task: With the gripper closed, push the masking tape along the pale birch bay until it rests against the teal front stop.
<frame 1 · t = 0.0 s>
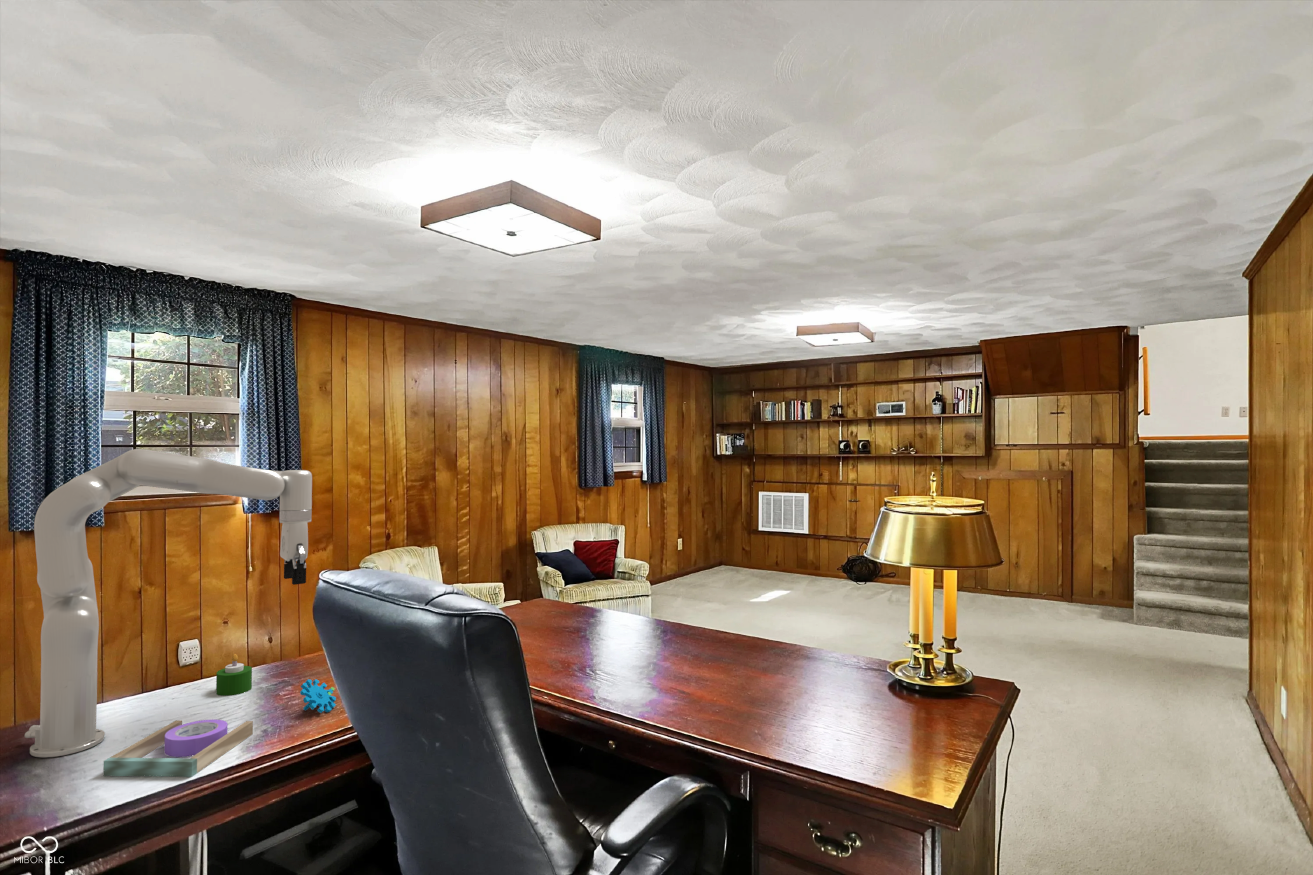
hand: (294, 580, 180), 31 cm above the table, tool pointing down, fingers open, 9 cm apart
bay: (183, 752, 148), on the table
masking tape: (196, 746, 152), on the table
gear: (319, 710, 173), on the table
candle: (234, 691, 186), on the table
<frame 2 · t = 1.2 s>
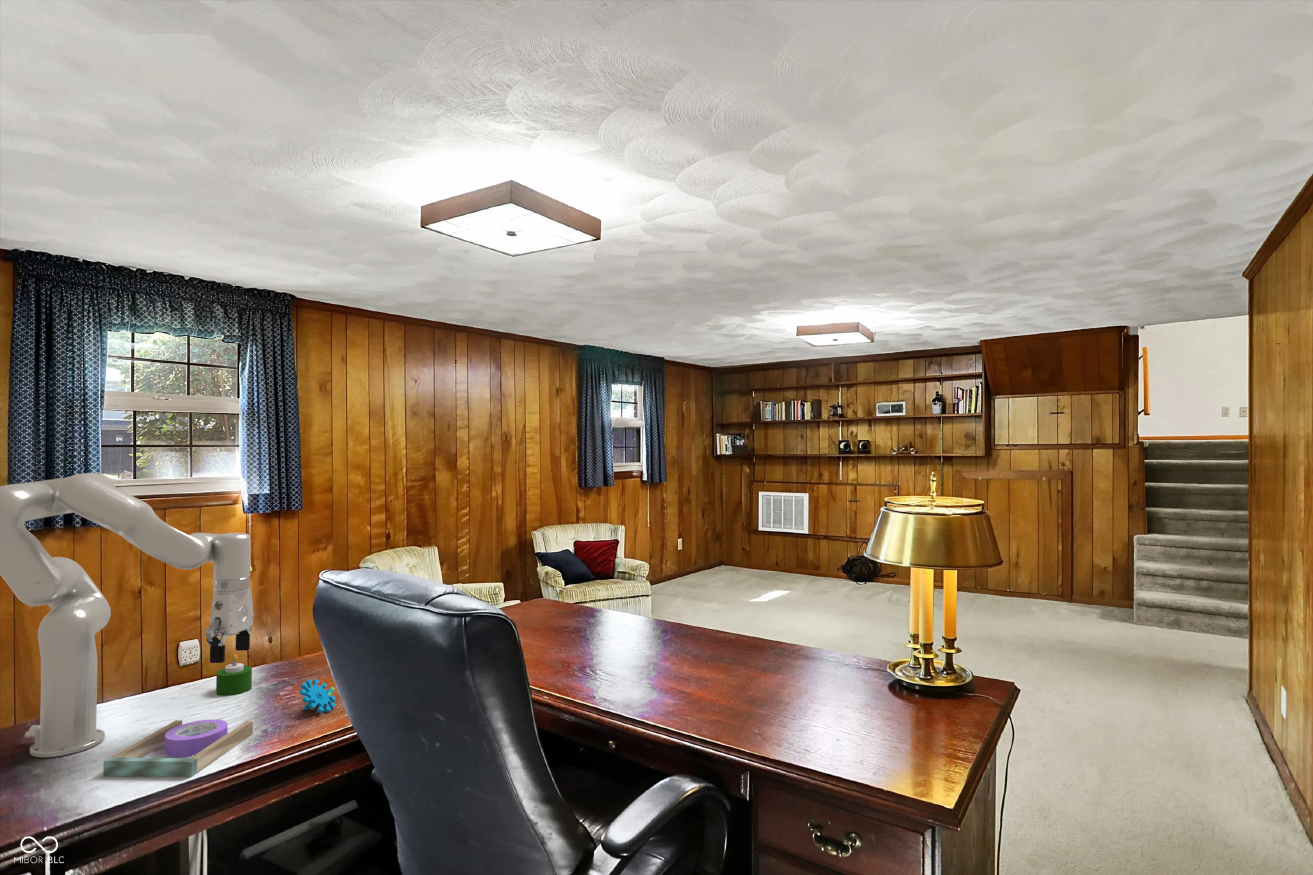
hand: (230, 655, 164), 16 cm above the table, tool pointing down, fingers open, 9 cm apart
nothing on the table moved.
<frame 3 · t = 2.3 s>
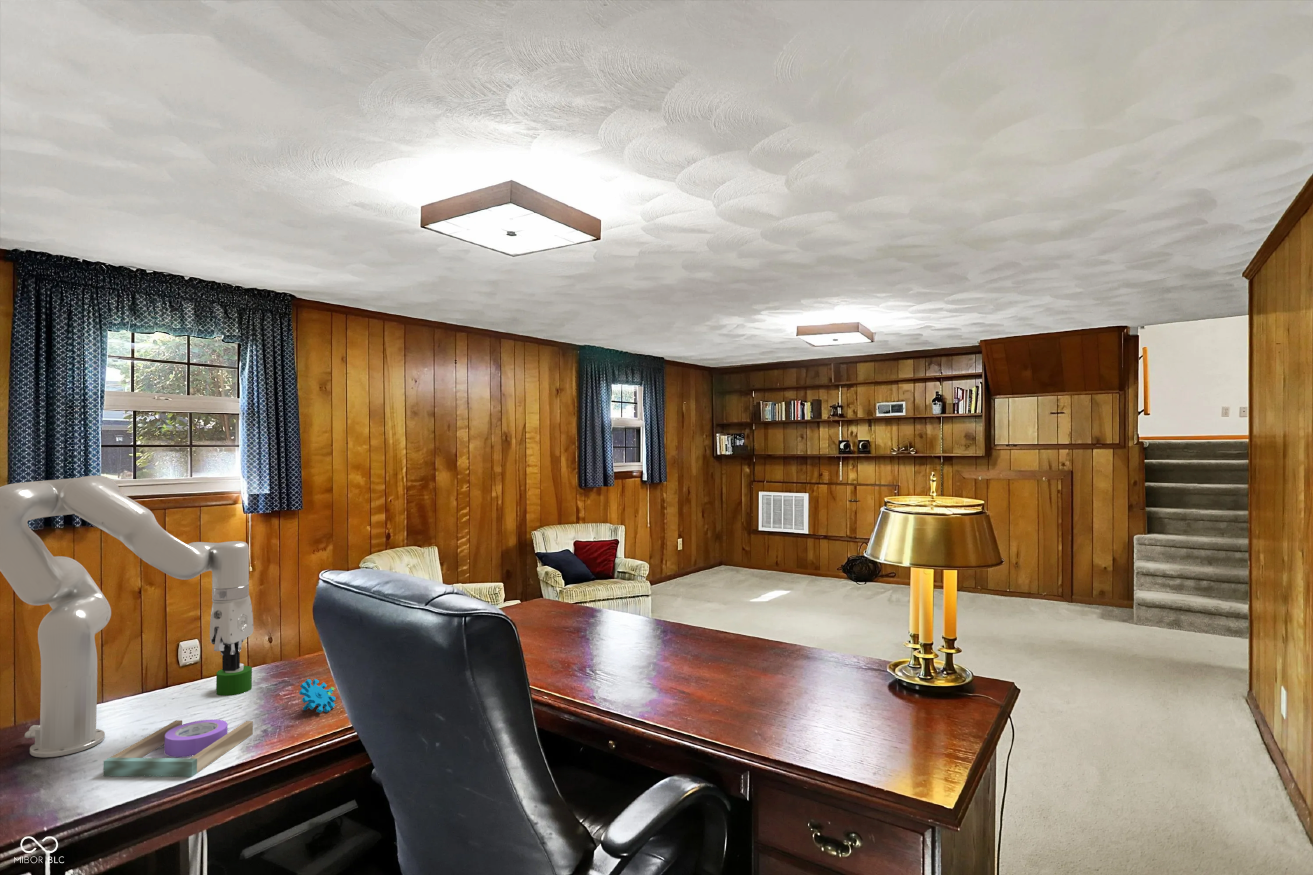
hand: (231, 669, 163), 13 cm above the table, tool pointing down, fingers closed
nothing on the table moved.
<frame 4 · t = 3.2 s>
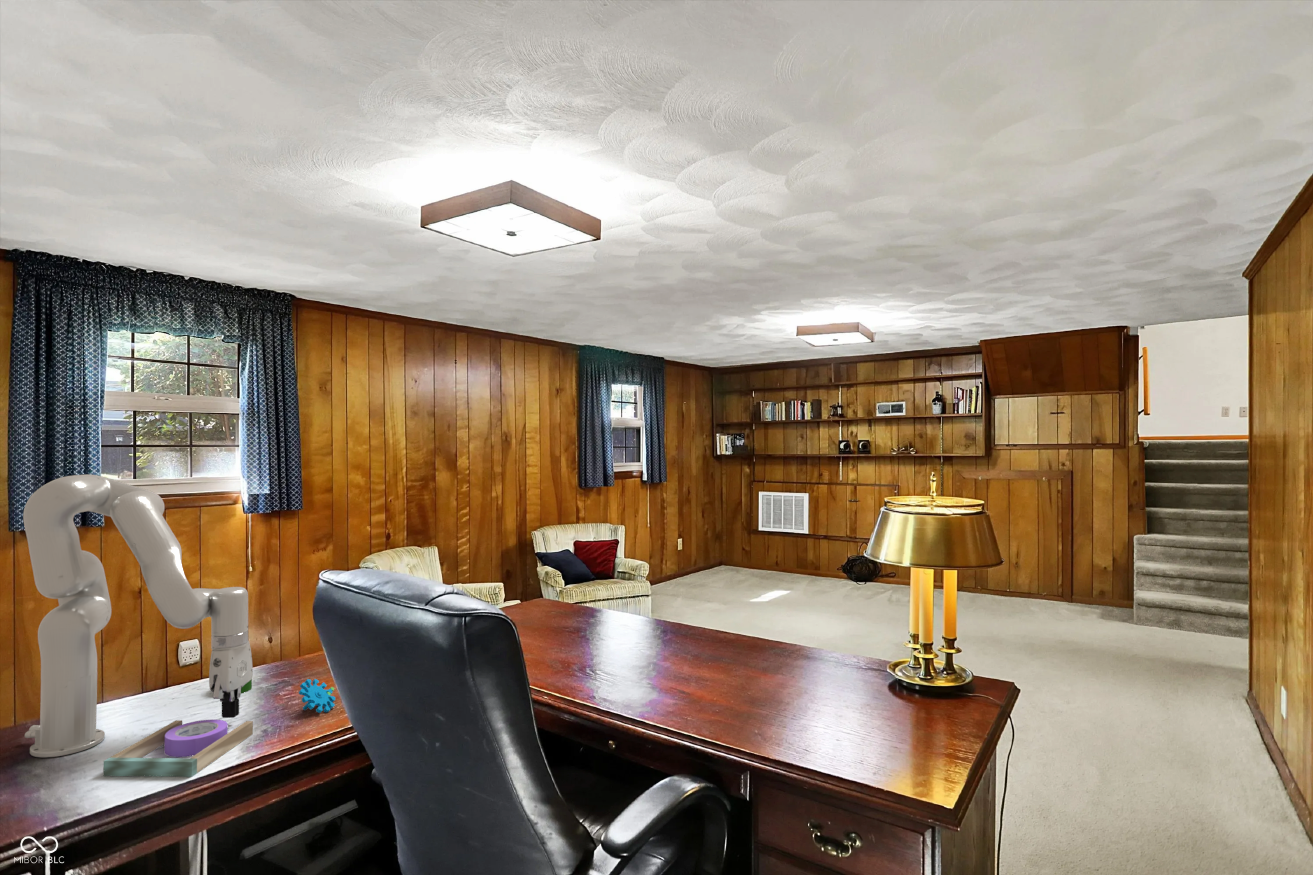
hand: (230, 716, 163), 2 cm above the table, tool pointing down, fingers closed
nothing on the table moved.
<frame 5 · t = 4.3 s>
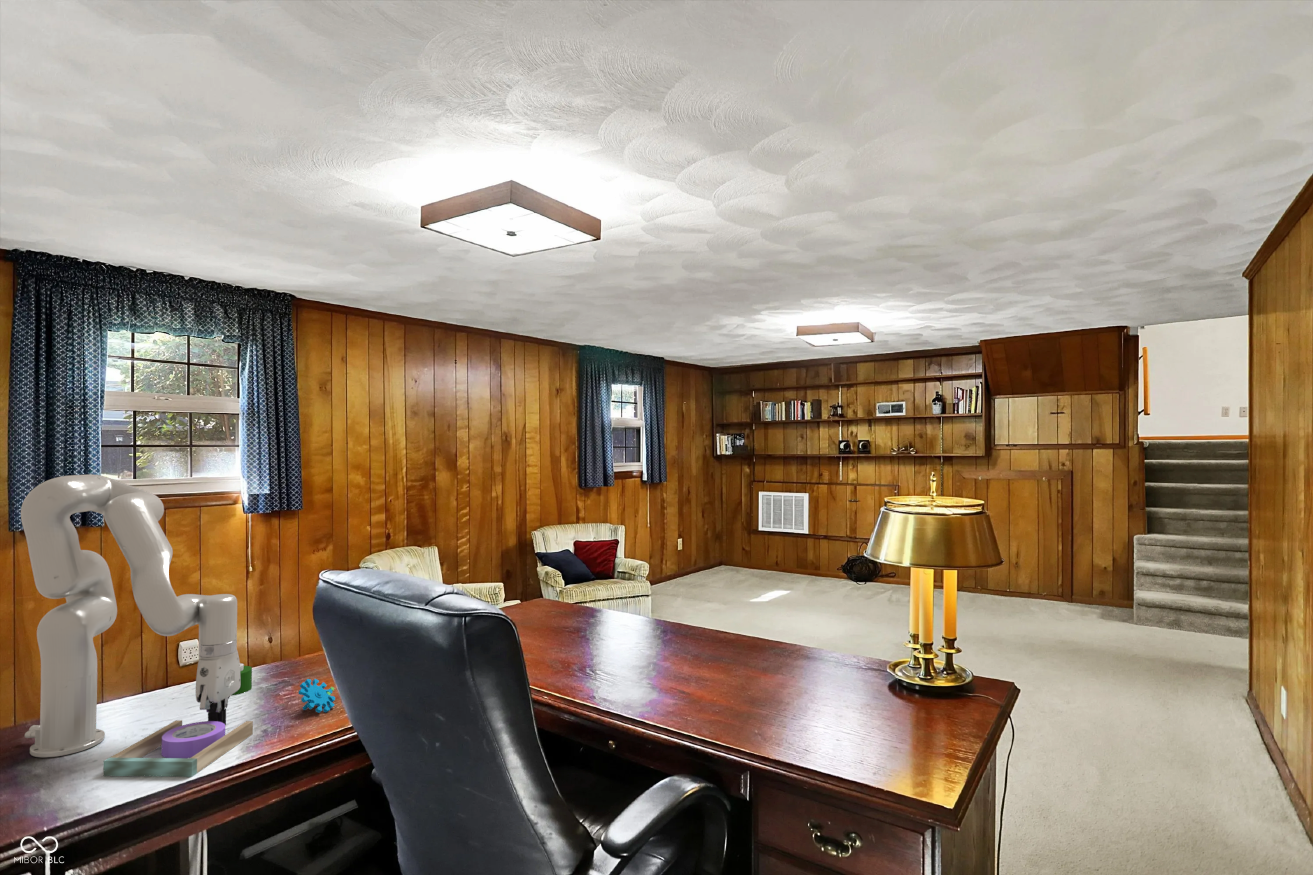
hand: (216, 727, 159), 1 cm above the table, tool pointing down, fingers closed
masking tape: (193, 748, 151), on the table, touching gripper
everything else where it was.
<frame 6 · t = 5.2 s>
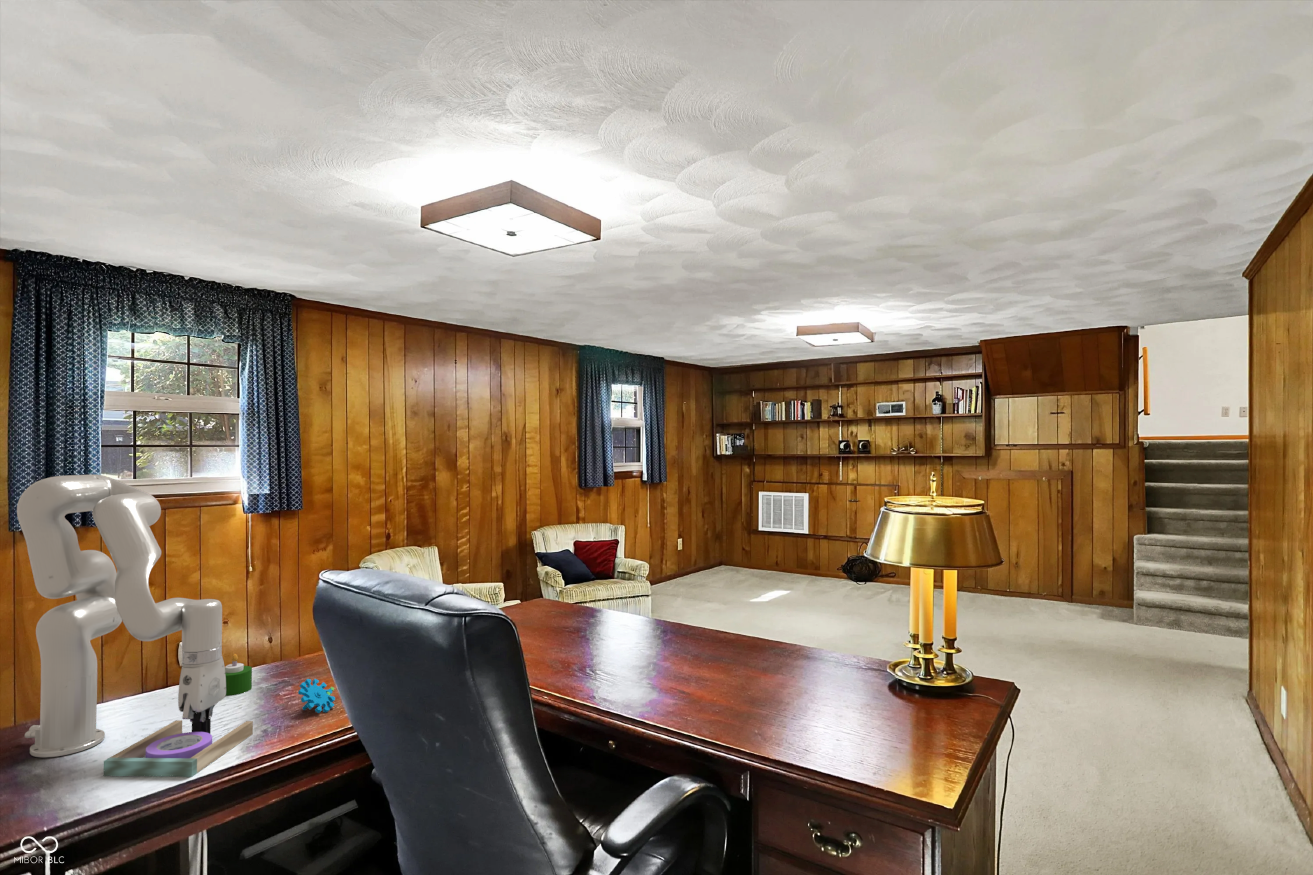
hand: (201, 737, 153), 1 cm above the table, tool pointing down, fingers closed
masking tape: (179, 761, 145), on the table, touching gripper
everything else where it was.
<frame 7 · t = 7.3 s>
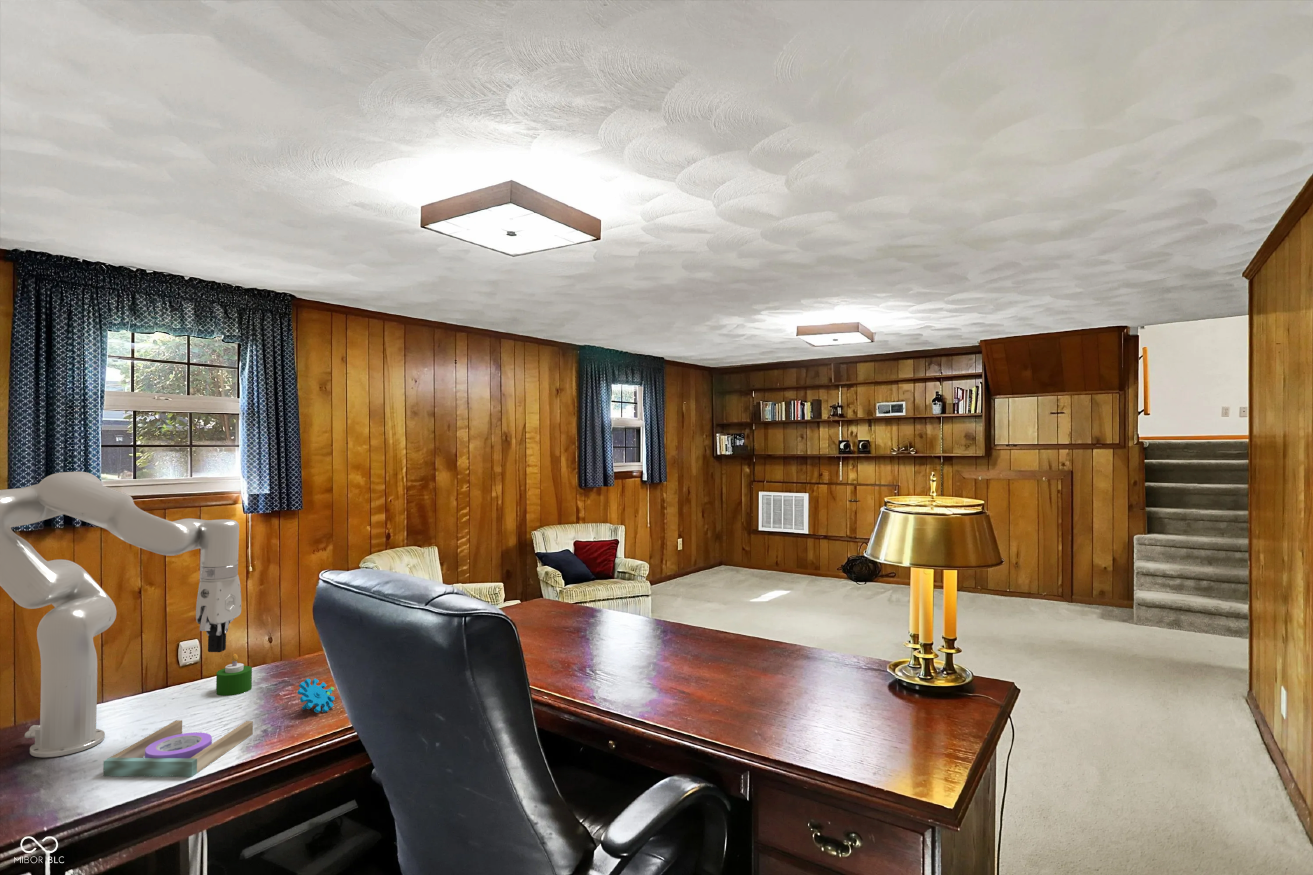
hand: (216, 650, 159), 19 cm above the table, tool pointing down, fingers closed
masking tape: (178, 761, 145), on the table
everything else where it was.
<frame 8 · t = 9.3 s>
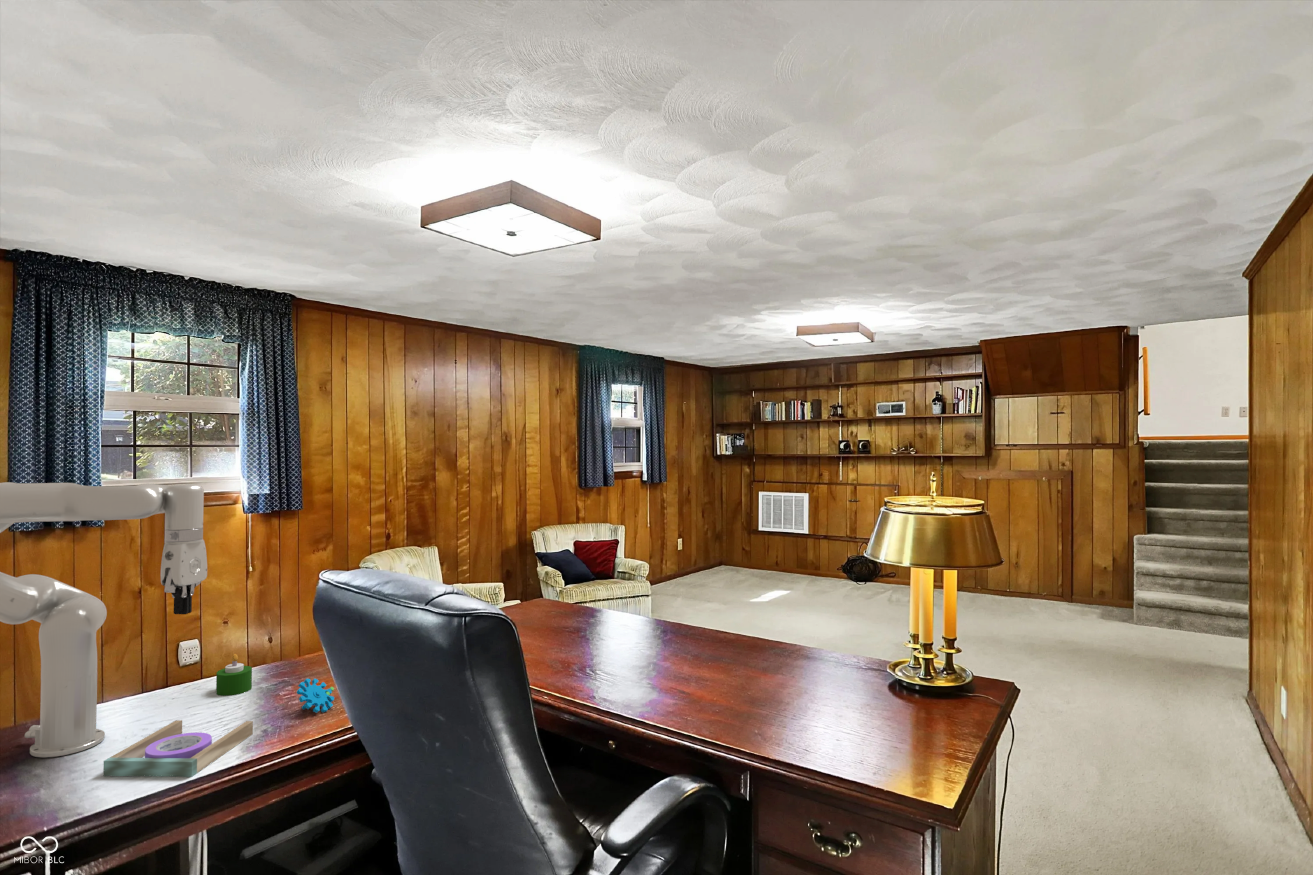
hand: (182, 613, 161), 27 cm above the table, tool pointing down, fingers closed
nothing on the table moved.
at the end: masking tape 1.2 cm from the target spot, on the table; masking tape moved 7.3 cm from its start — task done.
